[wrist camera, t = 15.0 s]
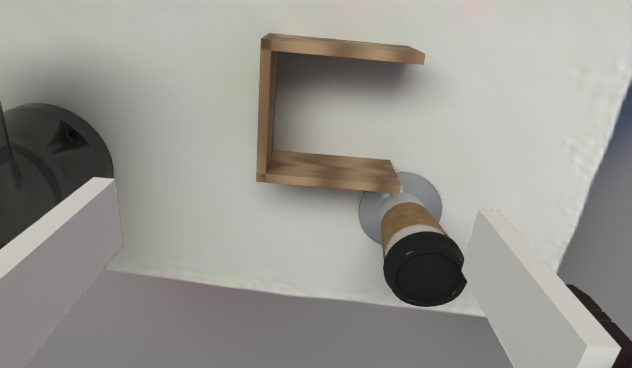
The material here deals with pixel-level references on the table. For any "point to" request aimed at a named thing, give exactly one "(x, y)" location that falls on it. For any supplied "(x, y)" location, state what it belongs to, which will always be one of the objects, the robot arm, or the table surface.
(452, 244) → the coffee cup
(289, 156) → the wooden c-shaped bracket
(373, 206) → the coaster
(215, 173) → the table surface
